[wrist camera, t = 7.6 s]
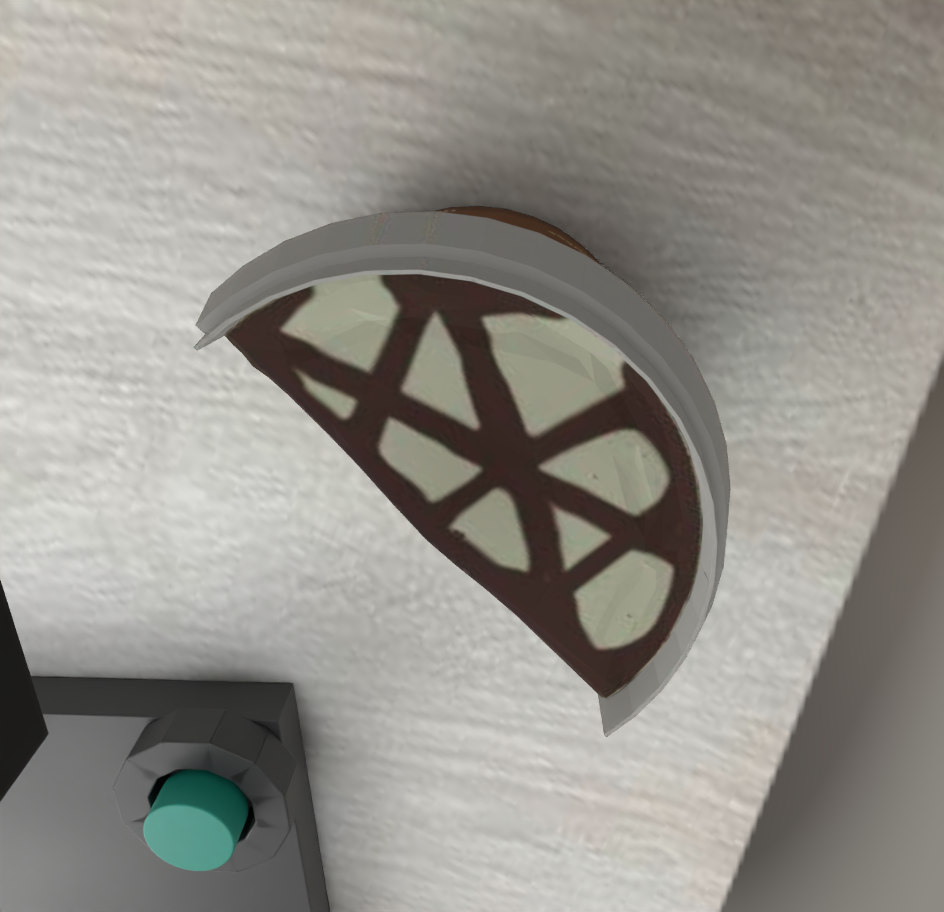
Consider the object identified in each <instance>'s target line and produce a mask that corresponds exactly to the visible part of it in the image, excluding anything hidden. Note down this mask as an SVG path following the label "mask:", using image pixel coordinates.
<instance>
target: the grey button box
mask: <svg viewBox="0 0 944 912" xmlns="http://www.w3.org/2000/svg"><path fill="white" fill-rule="evenodd" d="M31 679H32V682H33V685H34V688H35V692H36V695H37V698H38V701H39V704H40V707H41V711H42V714H43V717H44V720H45V723H46V726H47V730H48V733H49V734H48V736H47V737H46V739H45V740H44V741H43V743H42V744H41V746H40V747H39V748H38V750H37V751H36V753H35V754H34V755H33V757H32V758H31V760H30V761H29V762H28V764H27V765H26V767H25V768H24V769H23V771H22V772H21V774H20V775H19V776H18V778H17V779H16V781H15V782H14V783H13V785H12V786H11V788H10V789H9V790H8V792H7V793H6V795H5V796H4V797H3V799H2V800H1V802H0V912H330V911H329V905H328V899H327V893H326V887H325V880H324V874H323V868H322V862H321V855H320V849H319V843H318V837H317V831H316V824H315V818H314V812H313V806H312V799H311V793H310V787H309V781H308V775H307V768H306V762H305V756H304V750H303V744H302V737H301V731H300V725H299V719H298V712H297V706H296V700H295V694H294V688H293V684H284V683H246V682H207V681H169V680H131V679H92V678H54V677H31ZM187 769H191V770H208V771H210V772H212V773H215V774H217V775H219V776H221V777H224V778H226V779H228V780H230V781H233V782H234V783H235V784H236V785H237V786H238V787H239V788H240V789H241V790H242V791H243V793H244V794H245V796H246V799H247V802H248V807H249V812H248V817H247V819H246V822H245V824H244V827H243V829H242V832H241V834H240V837H239V840H238V842H237V845H236V847H235V850H234V852H233V854H232V856H231V858H230V859H229V860H228V861H227V862H226V863H225V864H223V865H222V866H220V867H218V868H215V869H212V870H206V871H192V870H186V869H182V868H179V867H176V866H173V865H171V864H169V863H167V862H166V861H164V860H162V859H161V858H160V857H158V856H157V855H156V854H155V853H154V852H153V851H152V850H151V848H150V847H149V846H148V844H147V842H146V840H145V837H144V832H143V827H144V822H145V819H146V817H147V815H148V813H149V812H150V810H151V808H152V806H153V804H154V802H155V800H156V798H157V796H158V794H159V792H160V790H161V789H162V787H163V785H164V783H165V782H166V780H167V779H168V778H169V777H171V776H172V775H173V774H175V773H177V772H180V771H183V770H187Z"/></svg>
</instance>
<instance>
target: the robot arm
mask: <svg viewBox="0 0 944 912" xmlns="http://www.w3.org/2000/svg"><path fill="white" fill-rule="evenodd" d="M48 734H49V733H48V730H47V726H46V723H45V720H44V717H43V714H42V711H41V707H40V704H39V701H38V698H37V695H36V692H35V688H34V685H33V682H32V679H31V676H30V672H29V669H28V666H27V663H26V660H25V657H24V653H23V650H22V647H21V644H20V641H19V638H18V634H17V631H16V628H15V625H14V622H13V619H12V615H11V612H10V609H9V606H8V603H7V599H6V596H5V593H4V590H3V587H2V584H1V580H0V802H1V800H2V799H3V797H4V796H5V795H6V793H7V792H8V790H9V789H10V788H11V786H12V785H13V783H14V782H15V781H16V779H17V778H18V776H19V775H20V774H21V772H22V771H23V769H24V768H25V767H26V765H27V764H28V762H29V761H30V760H31V758H32V757H33V755H34V754H35V753H36V751H37V750H38V748H39V747H40V746H41V744H42V743H43V741H44V740H45V739H46V737H47V736H48Z"/></svg>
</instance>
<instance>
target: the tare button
mask: <svg viewBox="0 0 944 912" xmlns="http://www.w3.org/2000/svg"><path fill="white" fill-rule="evenodd" d="M248 812H249V807H248V802H247V799H246V796H245V794H244V793H243V791H242V790H241V789H240V788H239V787H238V786H237V785H236V784H235V783H234V782H233V781H230V780H228V779H226V778H224V777H221V776H219V775H217V774H215V773H212V772H210V771H208V770H191V769H187V770H183V771H180V772H177V773H175V774H173V775H172V776H171V777H169V778H168V779H167V780H166V782H165V783H164V785H163V787H162V789H161V790H160V792H159V794H158V796H157V798H156V800H155V802H154V804H153V806H152V808H151V810H150V812H149V813H148V815H147V817H146V819H145V822H144V827H143V832H144V837H145V840H146V842H147V844H148V846H149V847H150V848H151V850H152V851H153V852H154V853H155V854H156V855H157V856H158V857H160V858H161V859H162V860H164V861H166V862H167V863H169V864H171V865H173V866H176V867H179V868H182V869H186V870H192V871H206V870H212V869H215V868H218V867H220V866H222V865H223V864H225V863H226V862H227V861H228V860H229V859H230V858H231V856H232V854H233V852H234V850H235V847H236V845H237V842H238V840H239V837H240V834H241V832H242V829H243V827H244V824H245V822H246V819H247V817H248Z"/></svg>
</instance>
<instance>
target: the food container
mask: <svg viewBox="0 0 944 912" xmlns="http://www.w3.org/2000/svg"><path fill="white" fill-rule="evenodd" d="M196 326H197V327H198V328H199V329H200V330H201V331H203V332H204V333H205V335H204V336H203V337H202V338H201V340H200V341H199V342H198V343H197V344H196V345H195V346H194V348H195V349H196V350H199V349H201V348H203V347H204V346H206V345H208V344H210V343H212V342H213V341H215V340H217V339H219V338H221V337H223V336H224V335H225V336H226V338H227V339H228V340H229V341H230V342H231V343H232V344H233V345H234V346H235V347H236V348H237V349H238V350H239V351H240V352H242V354H243V355H244V356H245V357H246V358H247V360H248V361H249V362H250V363H251V364H252V366H253V367H255V368H256V369H257V370H259V371H260V372H262V373H263V374H265V375H266V376H267V377H269V378H270V379H271V380H272V381H273V382H274V383H275V384H277V385H278V386H279V387H280V388H281V389H282V390H283V391H285V392H286V393H287V394H288V395H289V396H290V397H291V398H292V399H293V400H294V401H295V402H296V403H297V404H298V405H299V406H300V407H301V408H302V409H303V410H304V411H305V412H306V413H307V414H308V415H309V416H310V417H311V418H312V419H313V420H314V421H315V422H316V423H317V424H318V425H319V426H320V427H321V428H323V429H324V430H325V431H326V432H327V433H328V434H329V435H330V436H331V437H332V438H333V440H334V441H335V442H336V443H337V444H338V445H339V446H340V447H341V448H342V449H343V450H344V451H345V452H346V453H347V454H348V455H349V456H350V457H351V458H352V459H353V460H354V462H355V463H356V464H357V465H358V466H359V467H360V468H361V469H362V470H363V471H364V472H365V473H366V474H367V476H368V477H369V478H370V479H371V480H372V481H373V482H374V483H375V485H376V486H377V487H378V488H379V489H380V490H381V491H382V492H383V493H384V495H385V496H386V497H387V498H388V499H389V500H390V501H391V502H392V504H393V505H394V506H395V507H396V508H397V509H398V510H399V511H400V512H401V513H402V514H403V515H404V516H405V517H406V518H407V520H408V521H409V522H410V523H411V524H412V525H413V526H414V527H415V528H416V529H417V530H418V531H419V533H420V534H421V535H422V536H423V537H424V538H425V539H426V540H427V541H428V542H430V543H431V544H432V545H433V546H434V547H435V548H437V549H438V550H439V551H440V552H441V553H442V554H444V555H445V556H446V557H447V558H448V559H449V560H451V561H452V562H453V563H454V564H455V565H456V566H458V567H459V568H460V569H461V570H463V571H464V572H465V573H466V574H468V575H469V576H470V577H471V578H473V579H474V580H475V581H476V582H478V583H479V584H480V585H481V586H483V587H484V588H485V589H486V590H487V591H489V592H490V593H491V594H492V595H493V596H494V597H496V598H497V599H498V600H499V601H500V602H501V603H503V604H504V605H505V606H506V607H507V608H508V609H510V610H511V611H512V612H513V613H514V614H515V615H516V616H518V617H519V618H520V619H521V620H522V621H523V622H524V623H525V624H526V625H527V626H528V627H529V628H530V629H531V630H532V631H533V632H534V633H535V634H536V635H537V636H538V637H540V638H541V639H542V640H543V641H544V642H545V643H546V644H547V645H548V646H549V647H550V648H551V649H552V650H553V651H554V652H555V653H556V654H557V655H558V656H559V657H560V658H561V659H563V660H564V661H565V662H566V663H567V664H568V665H569V666H570V667H571V668H572V669H573V670H574V671H575V672H576V673H577V674H578V675H579V676H580V677H581V678H582V679H583V680H584V681H585V682H586V683H587V684H588V685H589V686H590V687H592V688H593V689H594V690H595V691H596V692H597V693H598V698H599V704H600V711H601V718H602V724H603V731H604V735H605V736H606V737H608V736H609V735H610V734H612V733H613V732H615V731H616V730H617V729H619V728H620V727H621V726H623V725H624V724H626V723H627V722H628V721H630V720H631V719H632V718H634V717H635V716H636V715H637V714H638V713H639V712H640V711H641V710H642V709H644V708H645V707H646V706H647V705H648V704H649V703H650V702H651V701H652V700H653V699H654V698H655V697H656V696H657V695H658V694H659V693H660V692H661V691H662V690H663V689H664V687H665V686H666V685H667V683H668V682H669V681H670V679H671V678H672V676H673V675H674V674H675V672H676V671H677V670H678V668H679V667H680V665H681V664H682V663H683V661H684V660H685V659H686V657H687V655H688V653H689V651H690V649H691V647H692V645H693V643H694V641H695V639H696V637H697V635H698V633H699V631H700V629H701V627H702V625H703V623H704V621H705V619H706V617H707V615H708V613H709V611H710V609H711V607H712V605H713V601H714V598H715V594H716V591H717V587H718V584H719V580H720V577H721V573H722V570H723V566H724V555H725V545H726V535H727V525H728V512H729V500H730V478H729V467H728V456H727V445H726V441H725V438H724V434H723V431H722V427H721V423H720V420H719V416H718V413H717V409H716V405H715V402H714V400H713V398H712V396H711V394H710V392H709V390H708V387H707V385H706V383H705V381H704V379H703V377H702V375H701V373H700V371H699V369H698V367H697V365H696V363H695V361H694V359H693V358H692V356H691V355H690V354H689V352H688V351H687V349H686V348H685V347H684V345H683V344H682V342H681V341H680V340H679V338H678V337H677V336H676V334H675V333H674V331H673V330H672V329H671V327H670V326H669V324H668V323H667V322H666V320H664V319H663V318H662V317H661V316H660V315H659V314H658V313H657V312H656V311H655V310H654V309H653V308H652V307H651V306H650V305H649V304H648V303H647V302H646V301H645V300H644V299H643V298H642V297H641V296H640V295H639V294H638V293H637V292H636V291H635V290H634V289H633V288H632V287H631V286H630V285H628V284H627V283H625V282H624V281H623V280H621V279H620V278H618V277H617V276H615V275H614V274H612V273H611V272H610V271H608V270H607V269H605V268H604V267H603V266H602V265H601V264H600V262H599V261H598V260H597V259H596V258H595V257H594V256H592V255H591V254H590V253H589V252H588V251H587V250H586V249H585V248H584V247H583V246H582V245H581V244H580V243H579V242H577V241H576V240H574V239H573V238H571V237H570V236H569V235H567V234H566V233H564V232H563V231H561V230H560V229H558V228H556V227H554V226H552V225H550V224H548V223H546V222H544V221H541V220H539V219H537V218H535V217H533V216H529V215H526V214H522V213H518V212H515V211H511V210H508V209H501V208H492V207H483V206H469V207H450V208H446V209H441V210H436V211H427V212H397V213H380V214H375V215H370V216H365V217H360V218H355V219H350V220H345V221H340V222H335V223H331V224H328V225H325V226H323V227H320V228H318V229H315V230H312V231H310V232H307V233H304V234H302V235H299V236H297V237H294V238H291V239H289V240H286V241H284V242H282V243H281V244H279V245H277V246H276V247H274V248H272V249H271V250H269V251H267V252H266V253H264V254H262V255H260V256H259V257H257V258H255V259H254V260H252V261H250V262H249V263H247V264H245V265H244V266H242V267H241V268H240V269H239V270H238V271H237V272H235V273H234V274H233V275H232V276H231V277H230V278H228V279H227V280H226V281H225V282H224V283H223V284H221V285H220V286H219V287H218V288H217V289H216V290H215V291H213V292H212V293H211V295H210V297H209V299H208V301H207V303H206V305H205V307H204V309H203V311H202V313H201V315H200V317H199V319H198V322H197V324H196Z"/></svg>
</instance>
